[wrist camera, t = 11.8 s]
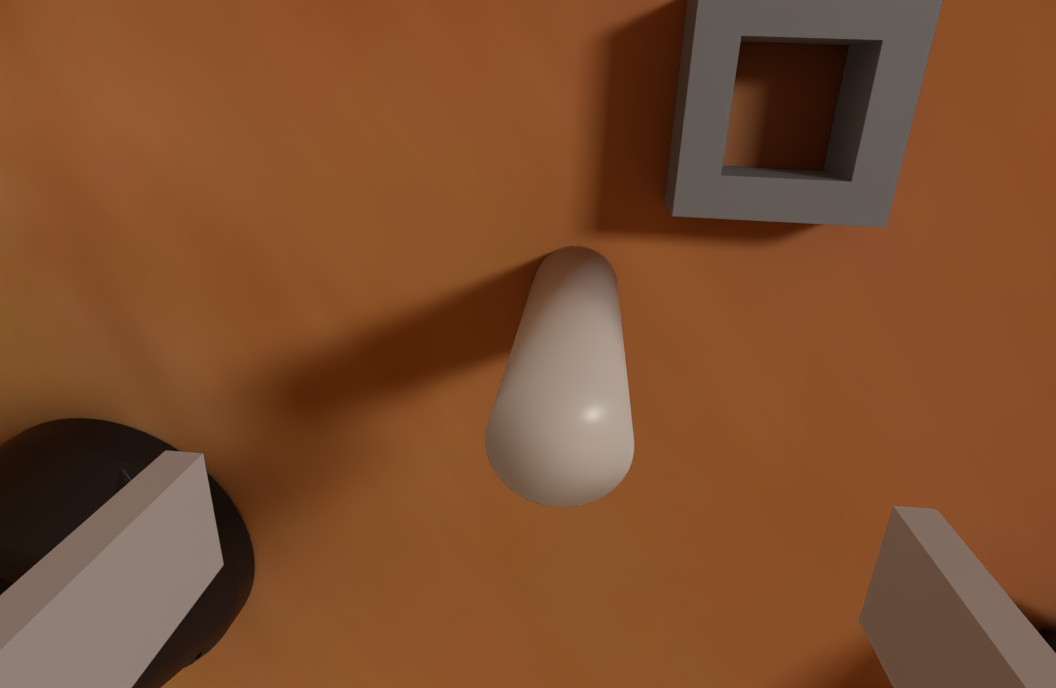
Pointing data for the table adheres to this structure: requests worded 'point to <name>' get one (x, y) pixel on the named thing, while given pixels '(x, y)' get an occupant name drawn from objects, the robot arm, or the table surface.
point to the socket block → (859, 121)
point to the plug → (565, 387)
